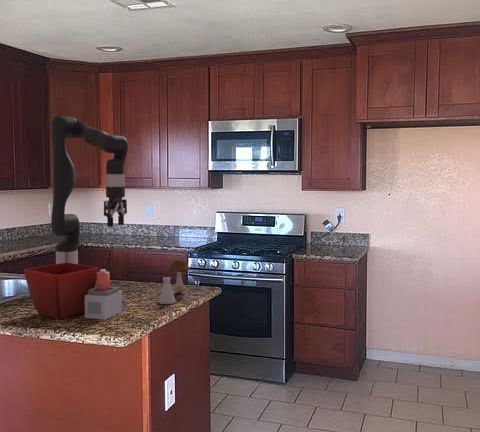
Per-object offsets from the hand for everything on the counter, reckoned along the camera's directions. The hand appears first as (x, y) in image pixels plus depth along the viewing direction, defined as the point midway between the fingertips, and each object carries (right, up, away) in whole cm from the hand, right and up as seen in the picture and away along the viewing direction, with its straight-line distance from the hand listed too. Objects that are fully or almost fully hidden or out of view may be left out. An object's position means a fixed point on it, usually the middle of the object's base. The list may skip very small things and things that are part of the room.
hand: (115, 225), depth 231 cm
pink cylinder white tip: (+1, -24, -24) cm, 34 cm away
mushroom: (+24, -29, +16) cm, 41 cm away
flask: (+21, -31, -3) cm, 38 cm away
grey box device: (+1, -32, -23) cm, 39 cm away
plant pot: (-15, -32, -22) cm, 41 cm away
